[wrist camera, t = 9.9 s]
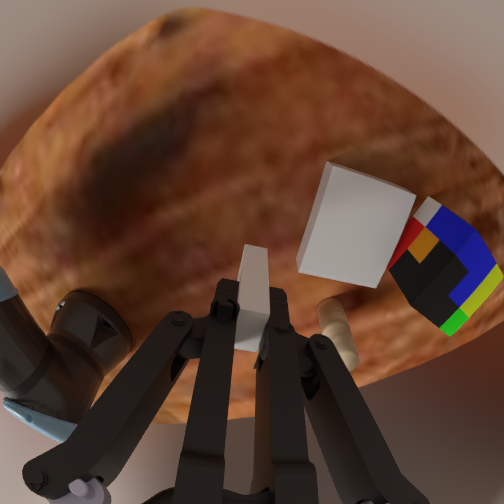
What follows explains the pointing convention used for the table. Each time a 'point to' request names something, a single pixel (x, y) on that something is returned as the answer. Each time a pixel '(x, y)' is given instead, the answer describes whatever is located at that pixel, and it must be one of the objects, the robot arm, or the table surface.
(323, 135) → the table surface
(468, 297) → the puzzle toy
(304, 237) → the slab
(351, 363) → the dowel
